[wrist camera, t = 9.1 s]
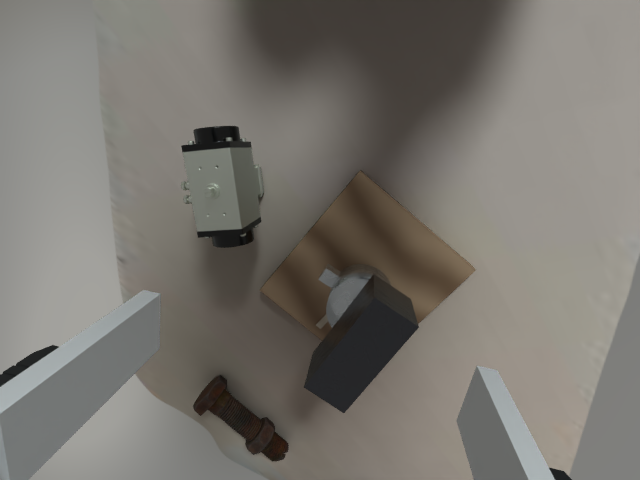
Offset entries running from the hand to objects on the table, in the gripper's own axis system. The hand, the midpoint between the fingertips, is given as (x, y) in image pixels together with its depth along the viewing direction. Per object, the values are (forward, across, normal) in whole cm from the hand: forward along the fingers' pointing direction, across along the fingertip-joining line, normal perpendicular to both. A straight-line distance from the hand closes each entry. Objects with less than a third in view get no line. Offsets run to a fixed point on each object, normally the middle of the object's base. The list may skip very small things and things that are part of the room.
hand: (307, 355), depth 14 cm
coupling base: (+29, -3, +8) cm, 31 cm away
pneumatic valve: (+30, +13, -1) cm, 33 cm away
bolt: (+29, +9, +34) cm, 45 cm away
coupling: (+24, -3, +8) cm, 26 cm away
